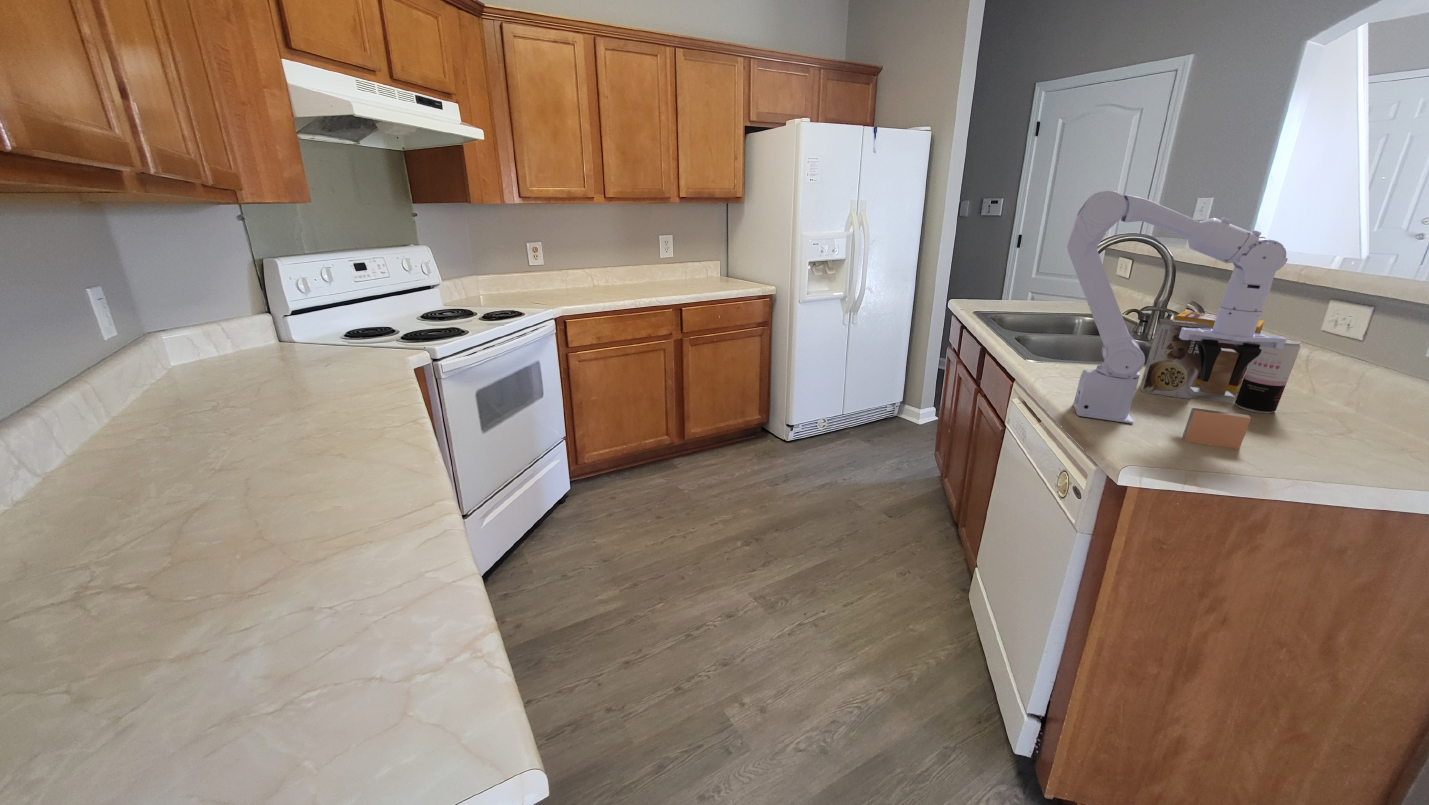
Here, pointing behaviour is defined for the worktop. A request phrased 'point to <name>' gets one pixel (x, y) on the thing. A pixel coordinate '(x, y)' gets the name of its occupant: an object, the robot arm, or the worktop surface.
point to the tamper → (1218, 378)
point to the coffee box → (1172, 360)
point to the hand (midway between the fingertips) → (1215, 381)
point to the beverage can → (1267, 378)
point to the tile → (1216, 428)
